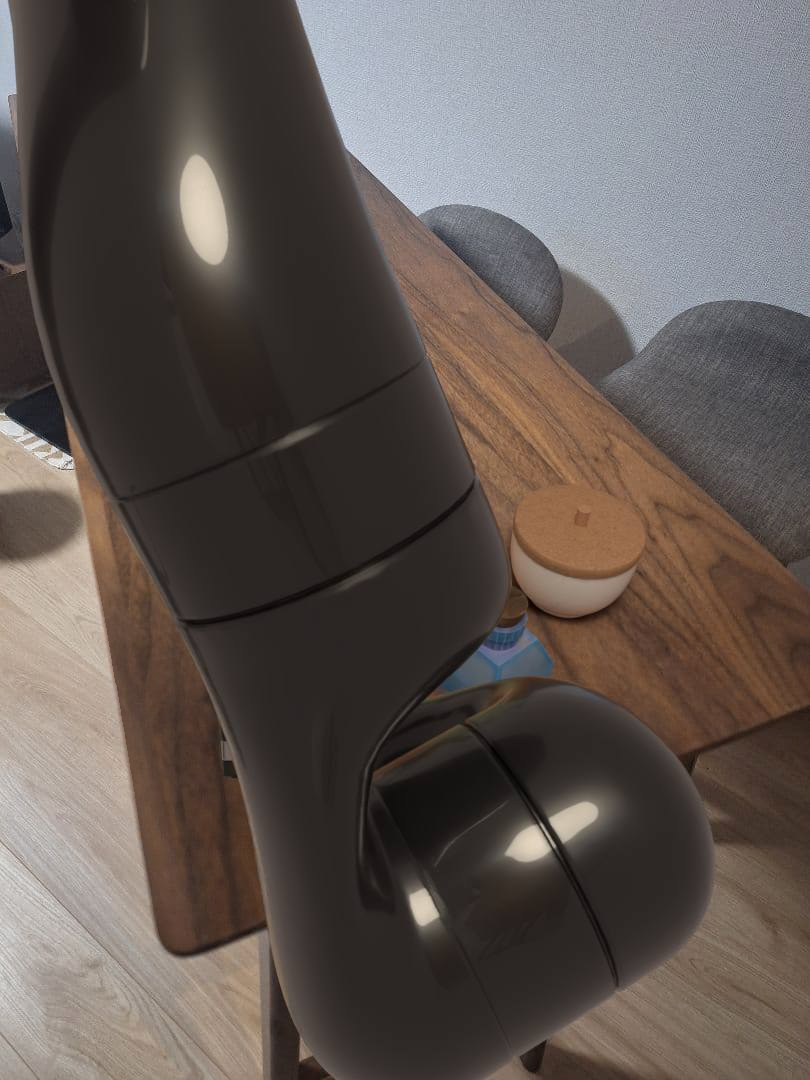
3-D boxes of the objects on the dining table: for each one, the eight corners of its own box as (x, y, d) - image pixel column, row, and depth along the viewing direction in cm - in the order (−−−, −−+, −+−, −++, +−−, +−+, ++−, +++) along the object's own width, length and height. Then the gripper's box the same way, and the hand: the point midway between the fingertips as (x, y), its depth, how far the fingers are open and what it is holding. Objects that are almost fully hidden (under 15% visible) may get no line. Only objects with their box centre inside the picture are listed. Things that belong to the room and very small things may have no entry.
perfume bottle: (480, 669, 71) (501, 556, 64) (539, 718, 68) (570, 606, 60) (422, 709, 68) (438, 595, 60) (482, 763, 65) (506, 650, 57)
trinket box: (614, 654, 74) (642, 569, 68) (486, 616, 76) (503, 531, 70) (632, 570, 82) (659, 487, 75) (516, 538, 84) (533, 455, 77)
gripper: (541, 655, 39) (456, 638, 55) (204, 682, 37) (217, 657, 53) (554, 831, 39) (465, 763, 55) (214, 871, 36) (224, 787, 52)
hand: (344, 711), depth 54 cm, fingers open, 8 cm apart
